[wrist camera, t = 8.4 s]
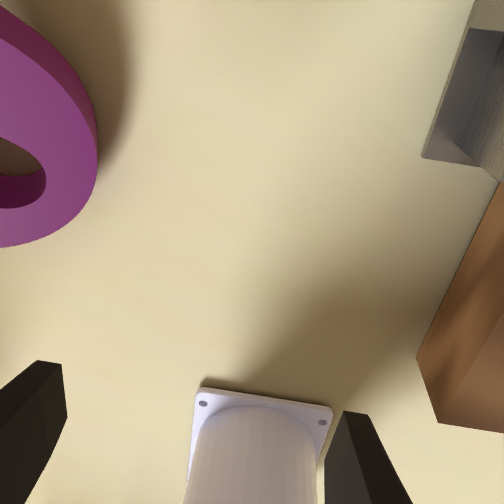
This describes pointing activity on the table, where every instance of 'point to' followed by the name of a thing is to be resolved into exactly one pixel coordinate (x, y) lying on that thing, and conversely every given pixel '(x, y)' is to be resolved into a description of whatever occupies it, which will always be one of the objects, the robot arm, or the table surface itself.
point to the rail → (471, 334)
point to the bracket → (474, 97)
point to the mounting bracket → (43, 135)
